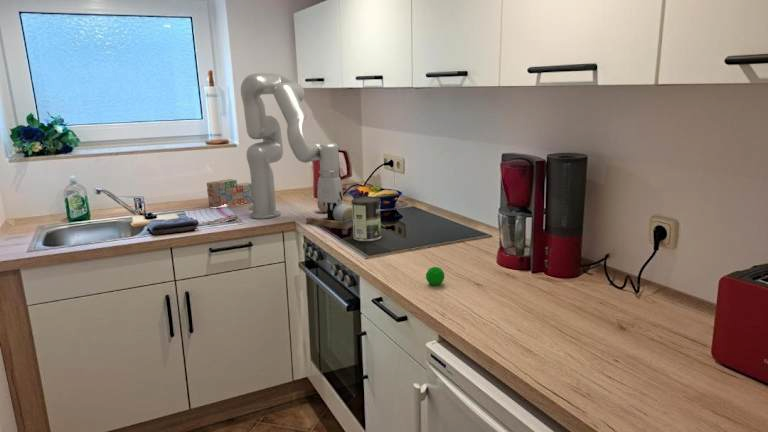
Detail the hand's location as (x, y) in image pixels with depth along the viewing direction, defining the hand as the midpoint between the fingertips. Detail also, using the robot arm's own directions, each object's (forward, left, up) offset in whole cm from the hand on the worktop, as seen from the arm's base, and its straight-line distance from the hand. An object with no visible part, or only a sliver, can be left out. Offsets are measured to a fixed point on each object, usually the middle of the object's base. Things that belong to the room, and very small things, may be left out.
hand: (331, 218), depth 224 cm
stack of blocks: (-65, +6, -2) cm, 65 cm away
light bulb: (+8, +1, -1) cm, 8 cm away
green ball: (+71, -45, -1) cm, 84 cm away
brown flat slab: (+3, 0, -1) cm, 4 cm away
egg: (-13, +12, -1) cm, 17 cm away
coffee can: (+27, -14, -1) cm, 31 cm away
